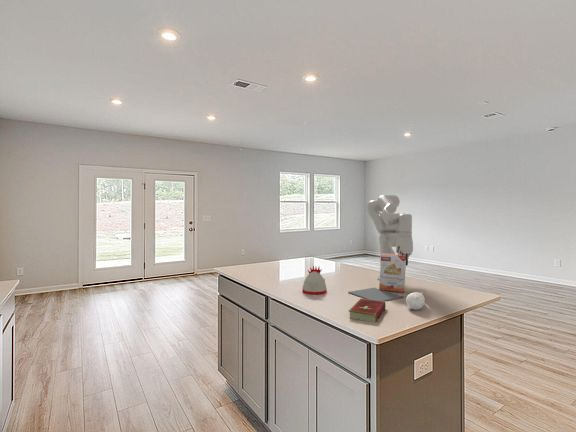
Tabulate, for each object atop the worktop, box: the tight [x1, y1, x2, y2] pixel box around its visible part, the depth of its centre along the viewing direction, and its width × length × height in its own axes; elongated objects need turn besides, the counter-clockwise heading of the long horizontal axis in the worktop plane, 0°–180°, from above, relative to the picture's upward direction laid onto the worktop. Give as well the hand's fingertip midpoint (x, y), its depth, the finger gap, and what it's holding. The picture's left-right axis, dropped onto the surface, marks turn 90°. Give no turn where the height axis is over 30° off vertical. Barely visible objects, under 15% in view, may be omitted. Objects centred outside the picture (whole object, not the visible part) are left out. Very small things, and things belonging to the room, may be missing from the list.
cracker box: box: [378, 253, 407, 293], centre depth 188 cm, size 14×6×21 cm, turn 73°
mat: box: [347, 287, 405, 302], centre depth 178 cm, size 20×22×1 cm
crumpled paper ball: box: [405, 291, 430, 311], centre depth 155 cm, size 9×11×12 cm
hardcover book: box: [348, 297, 387, 323], centre depth 148 cm, size 12×21×4 cm, turn 153°
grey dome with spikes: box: [302, 265, 328, 296], centre depth 186 cm, size 14×14×15 cm
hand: (404, 265), depth 192 cm, fingers closed
